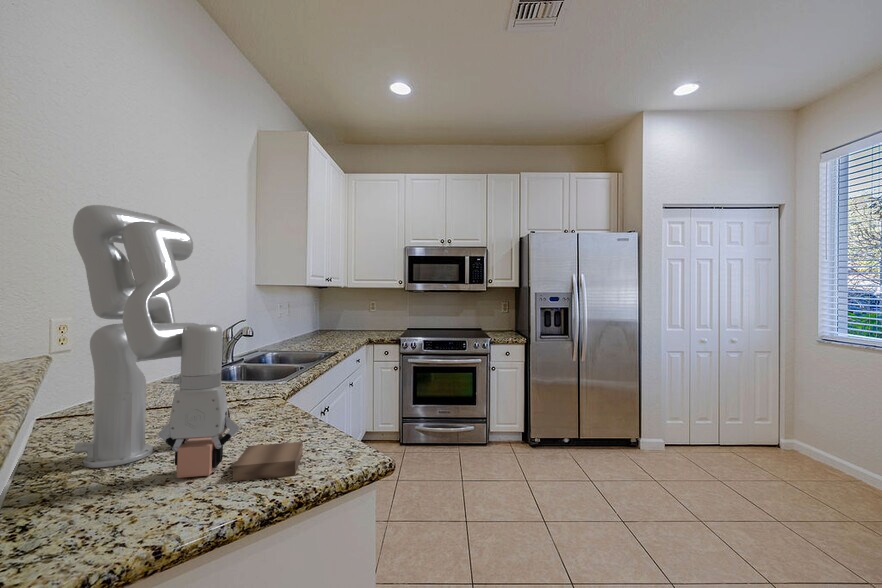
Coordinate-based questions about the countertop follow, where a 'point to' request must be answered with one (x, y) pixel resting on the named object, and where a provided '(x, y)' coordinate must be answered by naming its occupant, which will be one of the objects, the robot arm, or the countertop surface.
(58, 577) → the countertop surface
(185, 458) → the cube
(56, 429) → the countertop surface
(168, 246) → the robot arm
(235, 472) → the base
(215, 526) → the countertop surface
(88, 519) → the countertop surface
